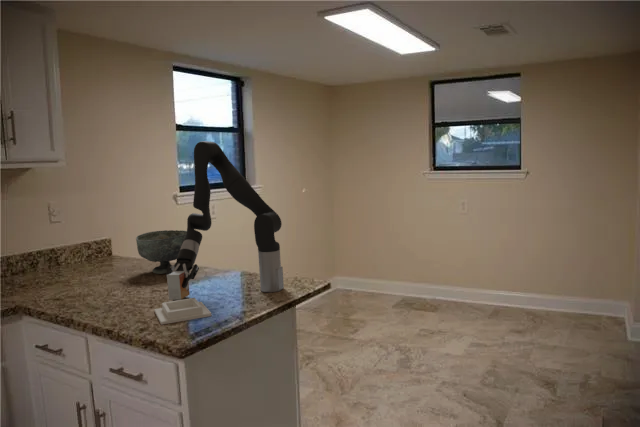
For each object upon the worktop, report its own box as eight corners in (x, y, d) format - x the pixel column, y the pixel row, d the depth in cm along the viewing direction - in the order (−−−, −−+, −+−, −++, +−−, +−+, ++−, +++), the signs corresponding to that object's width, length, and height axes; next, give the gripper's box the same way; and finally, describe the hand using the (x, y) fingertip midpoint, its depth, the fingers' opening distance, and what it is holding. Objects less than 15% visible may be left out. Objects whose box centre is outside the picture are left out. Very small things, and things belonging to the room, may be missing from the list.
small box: (181, 300, 215) (178, 274, 214) (168, 300, 216) (166, 274, 215) (190, 294, 223) (187, 270, 222) (177, 294, 224) (175, 270, 223)
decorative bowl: (186, 262, 293) (182, 226, 290) (198, 271, 270) (194, 233, 267) (136, 271, 281) (131, 234, 278) (144, 281, 259) (139, 241, 256)
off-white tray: (201, 304, 211) (200, 295, 211) (211, 315, 195) (210, 306, 194) (154, 311, 204) (153, 302, 203) (161, 324, 187) (160, 315, 187)
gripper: (169, 248, 227) (156, 282, 217) (199, 247, 223) (188, 282, 213) (177, 257, 232) (165, 291, 222) (207, 257, 228) (195, 292, 218)
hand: (176, 287), depth 217 cm, fingers closed on small box, 6 cm apart
